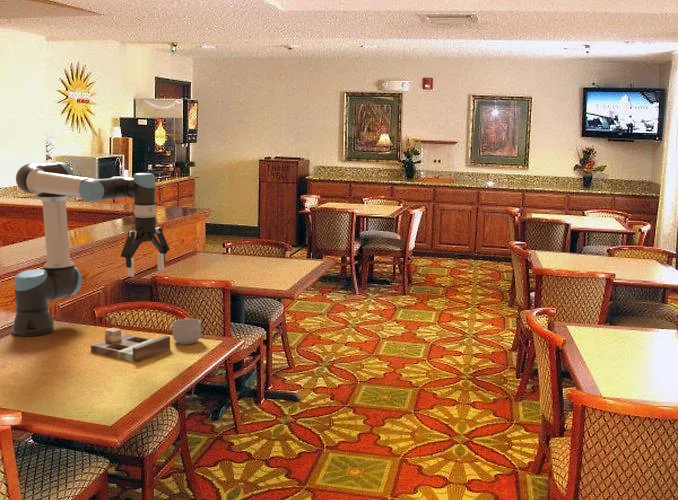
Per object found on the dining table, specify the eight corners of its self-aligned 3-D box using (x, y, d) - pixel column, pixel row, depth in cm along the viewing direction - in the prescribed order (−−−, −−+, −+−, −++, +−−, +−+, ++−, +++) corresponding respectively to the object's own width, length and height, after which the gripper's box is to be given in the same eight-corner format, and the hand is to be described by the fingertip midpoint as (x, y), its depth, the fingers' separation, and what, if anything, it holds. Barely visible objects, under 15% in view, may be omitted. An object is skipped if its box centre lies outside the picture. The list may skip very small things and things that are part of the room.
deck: (90, 351, 271) (90, 338, 270) (125, 339, 285) (124, 327, 284) (137, 362, 260) (136, 348, 260) (170, 349, 275) (169, 336, 274)
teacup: (197, 347, 279) (197, 326, 277) (168, 346, 279) (168, 325, 278) (205, 336, 293) (205, 316, 291) (177, 335, 293) (177, 315, 291)
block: (105, 340, 276) (104, 330, 275) (113, 337, 279) (112, 327, 278) (113, 342, 274) (112, 331, 273) (121, 339, 277) (120, 329, 276)
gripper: (122, 220, 262) (124, 280, 265) (178, 214, 281) (179, 269, 285) (109, 218, 266) (111, 276, 270) (165, 211, 286) (166, 266, 289)
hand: (146, 273), depth 277 cm, fingers open, 13 cm apart
